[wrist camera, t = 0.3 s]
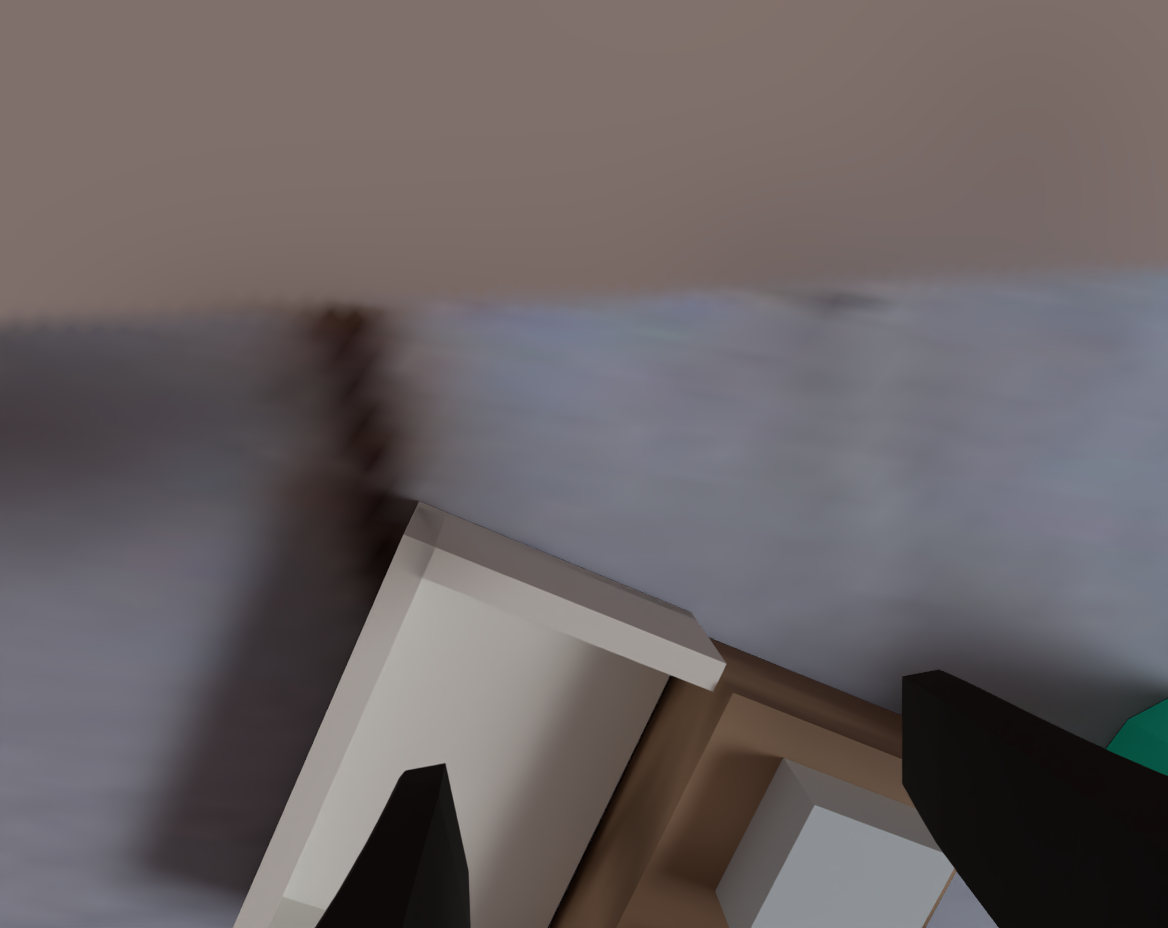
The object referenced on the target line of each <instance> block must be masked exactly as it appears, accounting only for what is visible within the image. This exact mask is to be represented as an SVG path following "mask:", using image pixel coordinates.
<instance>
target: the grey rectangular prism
mask: <svg viewBox="0 0 1168 928" xmlns="http://www.w3.org/2000/svg"><path fill="white" fill-rule="evenodd" d="M953 870H954V867H953V866H952V864H951V863H950V862H949V860H948V859H947V858H946V856H945V855H944V853H943V852H942V851H941V849H940V848H939V846H938V845H937V844H936V842H935V840H934V839H933V837H932V835H931V834H930V832H929V830H928V829H927V827H926V825H925V823H924V822H923V820H922V818H921V817H920V815H919V813H918V811H917V810H916V809H915V808H913V807H911V806H908V805H905V804H903V803H900V802H898V801H895V800H892V799H890V798H887V797H885V796H882V795H879V794H877V793H874V792H872V791H869V790H866V789H864V788H861V787H858V786H856V785H853V784H851V783H848V782H845V781H843V780H840V779H838V778H835V777H832V776H830V775H827V774H824V773H822V772H819V771H817V770H814V769H811V768H809V767H806V766H804V765H801V764H798V763H796V762H793V761H791V760H788V759H785V758H783V759H782V761H781V763H780V765H779V767H778V769H777V771H776V773H775V775H774V777H773V779H772V781H771V783H770V785H769V787H768V789H767V791H766V793H765V795H764V796H763V798H762V800H761V802H760V804H759V806H758V808H757V810H756V812H755V814H754V816H753V818H752V820H751V822H750V824H749V826H748V828H747V830H746V832H745V834H744V836H743V838H742V840H741V842H740V843H739V845H738V847H737V849H736V851H735V853H734V855H733V857H732V859H731V861H730V863H729V865H728V867H727V869H726V871H725V873H724V875H723V877H722V879H721V881H720V883H719V885H718V887H717V888H716V890H715V892H716V895H717V897H718V900H719V902H720V905H721V908H722V910H723V913H724V915H725V918H726V921H727V923H728V926H729V928H922V926H923V925H924V923H925V921H926V919H927V917H928V915H929V914H930V912H931V910H932V908H933V906H934V904H935V903H936V901H937V899H938V897H939V895H940V894H941V892H942V890H943V888H944V886H945V884H946V883H947V881H948V879H949V877H950V875H951V873H952V872H953Z"/></svg>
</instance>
